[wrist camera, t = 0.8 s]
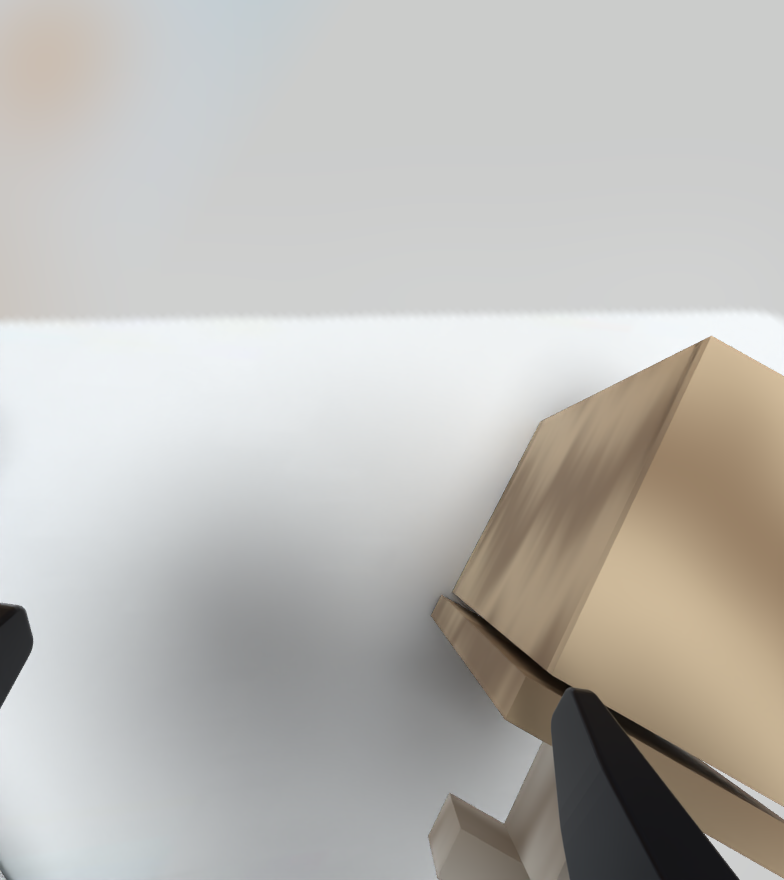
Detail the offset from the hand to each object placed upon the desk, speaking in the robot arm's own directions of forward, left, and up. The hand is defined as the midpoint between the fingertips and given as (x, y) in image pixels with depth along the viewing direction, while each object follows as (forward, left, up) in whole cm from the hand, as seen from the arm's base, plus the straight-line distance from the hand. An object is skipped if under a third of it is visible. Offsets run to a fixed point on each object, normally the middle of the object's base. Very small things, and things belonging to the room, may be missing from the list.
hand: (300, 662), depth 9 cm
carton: (-5, -8, -15) cm, 18 cm away
